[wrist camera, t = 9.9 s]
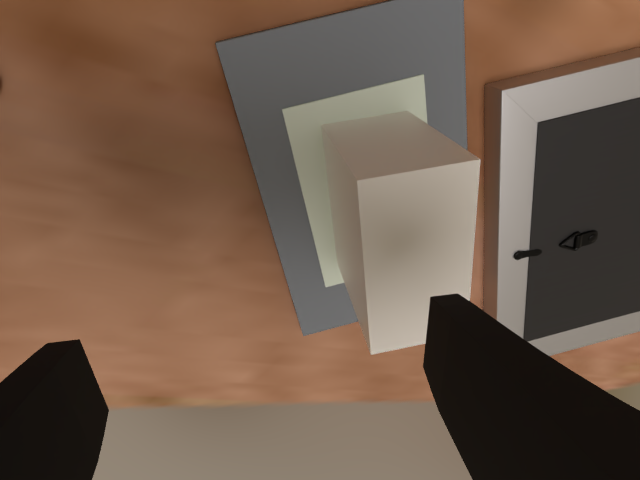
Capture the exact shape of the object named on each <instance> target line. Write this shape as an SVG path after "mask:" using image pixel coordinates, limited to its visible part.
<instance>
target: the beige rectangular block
mask: <svg viewBox="0 0 640 480" xmlns="http://www.w3.org/2000/svg"><path fill="white" fill-rule="evenodd" d="M321 128H322V136H323V145H324V154H325V162H326V171H327V179H328V188H329V197H330V205H331V214H332V222H333V231H334V240H335V248H336V257H337V264H338V266H339V269H340V272H341V275H342V277H343V280H344V283H345V286H346V288H347V291H348V294H349V297H350V299H351V302H352V305H353V307H354V310H355V313H356V316H357V318H358V321H359V324H360V327H361V329H362V332H363V335H364V338H365V340H366V343H367V346H368V349H369V351H370V354H371V355H372V354H377V353H382V352H387V351H392V350H396V349H401V348H406V347H411V346H416V345H420V344H425V343H426V334H427V325H428V315H429V305H430V297H432V296H440V295H449V294H457V293H458V294H459V295H461V296H462V297H464V298H465V299H467V300H468V301H470V292H471V279H472V265H473V252H474V239H475V226H476V213H477V199H478V186H479V173H480V160H481V159H479V158H478V157H476V156H475V155H473V154H472V153H470V152H469V151H467V150H466V149H464V148H463V147H461V146H460V145H458V144H457V143H455V142H454V141H452V140H451V139H449V138H448V137H446V136H445V135H443V134H442V133H440V132H439V131H437V130H436V129H434V128H433V127H431V126H430V125H428V124H427V123H425V122H424V121H422V120H421V119H419V118H418V117H416V116H415V115H413V114H412V113H410V112H409V111H403V112H397V113H391V114H384V115H378V116H372V117H366V118H360V119H353V120H347V121H341V122H335V123H329V124H323V125H321Z"/></svg>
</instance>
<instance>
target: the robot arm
mask: <svg viewBox="0 0 640 480" xmlns="http://www.w3.org/2000/svg"><path fill="white" fill-rule="evenodd" d="M423 368H424V371H425V374H426V376H427V379H428V382H429V385H430V388H431V391H432V394H433V397H434V399H435V402H436V405H437V407H438V410H439V412H440V414H441V416H442V418H443V420H444V423H445V425H446V427H447V429H448V431H449V433H450V435H451V437H452V439H453V441H454V443H455V445H456V447H457V449H458V451H459V453H460V455H461V457H462V459H463V461H464V463H465V465H466V467H467V469H468V471H469V473H470V475H471V477H472V479H473V480H640V411H639V410H637V409H635V408H634V407H632V406H630V405H628V404H626V403H625V402H623V401H621V400H619V399H618V398H616V397H614V396H612V395H611V394H609V393H607V392H606V391H604V390H602V389H601V388H599V387H597V386H596V385H594V384H593V383H591V382H589V381H588V380H586V379H584V378H583V377H581V376H579V375H578V374H576V373H574V372H573V371H571V370H570V369H568V368H567V367H565V366H563V365H562V364H560V363H559V362H557V361H556V360H554V359H553V358H551V357H550V356H548V355H547V354H545V353H544V352H542V351H540V350H539V349H538V348H536V347H535V346H533V345H532V344H530V343H529V342H527V341H526V340H524V339H523V338H521V337H520V336H518V335H517V334H516V333H514V332H513V331H511V330H510V329H508V328H507V327H506V326H504V325H503V324H501V323H500V322H498V321H497V320H496V319H494V318H493V317H491V316H490V315H489V314H487V313H486V312H484V311H483V310H481V309H480V308H479V307H477V306H476V305H474V304H473V303H471V302H470V301H468V300H467V299H465V298H464V297H462V296H461V295H459V294H458V293H457V294H449V295H440V296H432V297H430V305H429V315H428V325H427V334H426V344H425V354H424V363H423ZM108 412H109V410H108V407H107V405H106V402H105V400H104V397H103V395H102V393H101V390H100V388H99V385H98V383H97V380H96V378H95V376H94V373H93V371H92V368H91V366H90V364H89V361H88V359H87V356H86V354H85V351H84V349H83V347H82V344H81V342H80V339H79V340H70V341H62V342H54V343H47V344H46V345H44V346H43V347H42V348H41V349H39V350H38V351H37V352H36V353H34V354H33V355H32V356H31V357H30V358H28V359H27V360H26V361H25V362H24V363H23V364H21V365H20V366H19V367H18V368H17V369H16V370H14V371H13V372H12V373H11V374H10V375H9V376H8V377H6V378H5V379H4V380H3V381H2V382H1V383H0V480H92V478H93V475H94V471H95V469H96V466H97V463H98V458H99V454H100V450H101V446H102V441H103V437H104V432H105V427H106V422H107V416H108Z"/></svg>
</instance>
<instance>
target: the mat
mask: <svg viewBox="0 0 640 480" xmlns="http://www.w3.org/2000/svg"><path fill="white" fill-rule="evenodd" d="M215 44H216V47H217V51H218V54H219V57H220V61H221V64H222V67H223V71H224V74H225V77H226V81H227V84H228V87H229V91H230V94H231V97H232V101H233V104H234V107H235V111H236V114H237V117H238V121H239V124H240V127H241V130H242V134H243V137H244V140H245V144H246V147H247V150H248V154H249V157H250V160H251V164H252V167H253V170H254V174H255V177H256V180H257V184H258V187H259V190H260V194H261V197H262V200H263V204H264V207H265V210H266V214H267V217H268V220H269V223H270V227H271V230H272V233H273V237H274V240H275V243H276V247H277V250H278V253H279V257H280V260H281V263H282V267H283V270H284V273H285V277H286V280H287V283H288V287H289V290H290V293H291V297H292V300H293V303H294V307H295V310H296V313H297V317H298V320H299V323H300V326H301V330H302V333H303V336H305V335H309V334H313V333H316V332H320V331H324V330H328V329H331V328H335V327H339V326H343V325H346V324H350V323H354V322H357V321H358V318H357V316H356V313H355V310H354V307H353V305H352V302H351V299H350V297H349V294H348V291H347V288H346V286H345V283H344V280H343V277H342V275H341V272H340V269H339V266H338V264H337V257H336V248H335V240H334V231H333V222H332V214H331V205H330V197H329V188H328V179H327V171H326V162H325V154H324V145H323V136H322V128H321V125H323V124H329V123H335V122H341V121H347V120H353V119H360V118H366V117H372V116H378V115H384V114H391V113H397V112H403V111H409V112H410V113H412V114H413V115H415V116H416V117H418V118H419V119H421V120H422V121H424V122H425V123H427V124H428V125H430V126H431V127H433V128H434V129H436V130H437V131H439V132H440V133H442V134H443V135H445V136H446V137H448V138H449V139H451V140H452V141H454V142H455V143H457V144H458V145H460V146H461V147H463V148H464V149H466V150H467V119H466V79H465V39H464V0H389V1H385V2H380V3H376V4H372V5H368V6H364V7H360V8H355V9H351V10H347V11H343V12H339V13H334V14H330V15H326V16H322V17H318V18H314V19H309V20H305V21H301V22H297V23H293V24H289V25H284V26H280V27H276V28H272V29H268V30H264V31H259V32H255V33H251V34H247V35H243V36H239V37H234V38H230V39H226V40H222V41H218V42H216V43H215Z"/></svg>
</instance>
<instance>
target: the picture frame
mask: <svg viewBox="0 0 640 480" xmlns="http://www.w3.org/2000/svg"><path fill="white" fill-rule="evenodd" d="M483 311H484V312H486V313H487V314H489V315H490V316H491V317H493V318H494V319H496V320H497V321H498V322H500V323H501V324H503V325H504V326H506V327H507V328H508V329H510V330H511V331H513V332H514V333H516V334H517V335H518V336H520V337H521V338H523V339H524V340H526V341H527V342H529V343H530V344H532V345H533V346H535V347H536V348H538V349H539V350H540V351H542V352H544V353H545V354H547V355H548V356H551V355H554V354H558V353H562V352H565V351H569V350H573V349H576V348H580V347H584V346H587V345H591V344H595V343H598V342H602V341H606V340H609V339H613V338H617V337H620V336H624V335H628V334H632V333H635V332H639V331H640V47H638V48H633V49H629V50H625V51H621V52H617V53H613V54H608V55H604V56H600V57H596V58H592V59H588V60H584V61H579V62H575V63H571V64H567V65H563V66H559V67H554V68H550V69H546V70H542V71H538V72H534V73H530V74H525V75H521V76H517V77H513V78H509V79H505V80H500V81H496V82H492V83H488V84H485V85H484V291H483Z"/></svg>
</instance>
